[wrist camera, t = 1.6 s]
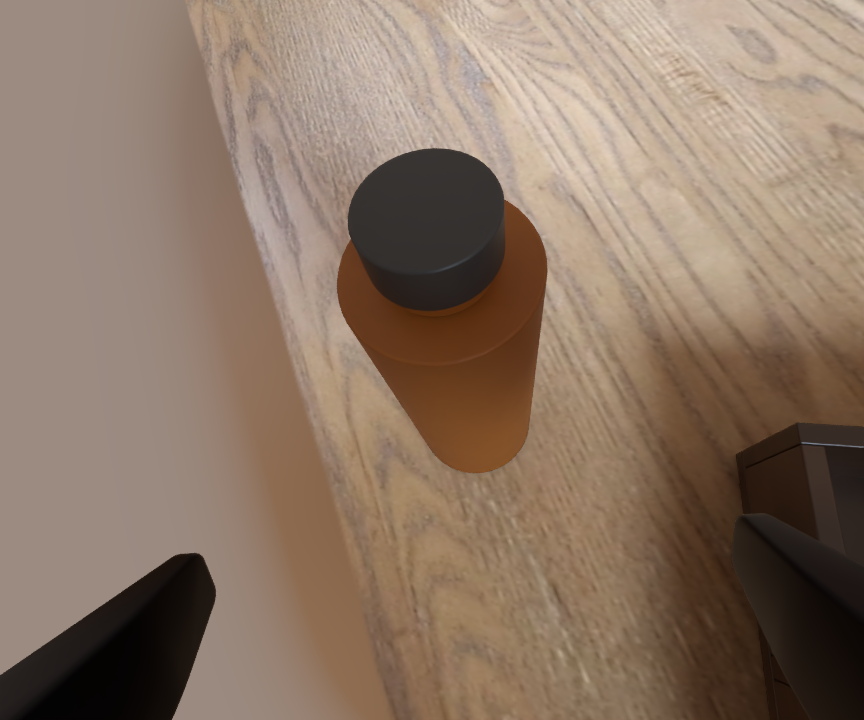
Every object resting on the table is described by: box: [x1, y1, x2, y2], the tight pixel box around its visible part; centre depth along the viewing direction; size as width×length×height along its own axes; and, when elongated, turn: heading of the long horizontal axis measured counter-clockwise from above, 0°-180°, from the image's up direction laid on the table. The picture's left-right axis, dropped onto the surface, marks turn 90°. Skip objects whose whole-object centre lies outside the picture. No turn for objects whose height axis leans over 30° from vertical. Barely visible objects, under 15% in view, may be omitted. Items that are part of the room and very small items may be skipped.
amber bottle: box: [337, 148, 547, 473], centre depth 15 cm, size 5×5×14 cm
